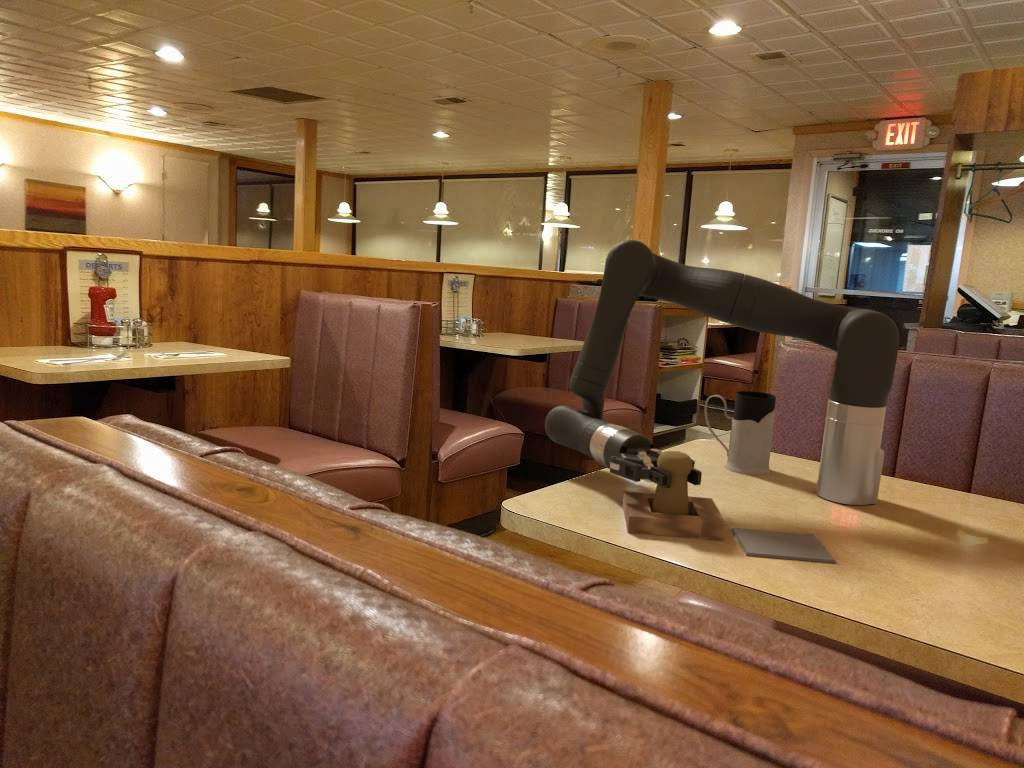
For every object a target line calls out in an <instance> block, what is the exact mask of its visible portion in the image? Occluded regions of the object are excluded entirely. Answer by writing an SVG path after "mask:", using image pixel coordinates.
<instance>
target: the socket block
mask: <svg viewBox="0 0 1024 768" xmlns="http://www.w3.org/2000/svg"><path fill="white" fill-rule="evenodd" d="M654 495H655V493H653V492H652V493H651V492H639V491H630V490H629V491H627V490H624V491H623V498H622V510H623V516H624V519H625V520H624V521H625V525H626V526H625V527H626V530H627V533H632V534H644V535H656V536H664V537H665V536H666V537H678V538H691V539H700V538H701V540H711V539H712V540H713V541H722V540H724V541H723V542H725V541H726V532H727V523H726V521H725V519H724V517H723V515H722V514H721V512H720V511H719V510H720V509H719V508H718V507H717V504H716V502H715V501H714V500H713V498H712V497H711V498H709V497H701V496H689V495H688V513H689V516H688V515H677V514H665V513H653V512H651V508H652V504H653V500H654Z"/></svg>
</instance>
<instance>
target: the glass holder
mask: <svg viewBox="0 0 1024 768" xmlns="http://www.w3.org/2000/svg"><path fill="white" fill-rule="evenodd" d="M714 397H715V398H719V399H721V401H722V402H723V405H724V417H725V418H727V420H728V419H729V420H731V428H730V434H729V445H728V447H727V446H726V444H724V442H723V441H722V440H721V439H720V438H719V437H718V435H717V434H716V433H715V431H714V430H713V429H712V427H711V424H710V422H709V419H708V412H707V411H708V410H707V409H708V403H709V400H710V399H712V398H714ZM734 399H735V400H734V410H733V417H731V416H729V415H728V404H727V401H726V399H725V397H723V396H721V395H719V394H714V395H713V394H712V395H711V396H708V397H707V399H706V400H705V403H704V418H705V419H704V420H705V423H706V426H707V428H708V431H709V432H710V434H711V435H712V436H713V437H714V438H715V439H716V441H717V442H718V443H719V444H720V445H721V446H722V447H723V449H724V450H725V451H726V456H727V460H726V461H725V464H724V468H725V469H726V470H729V471H731V472H733V473H736V474H737V473H738V474H742V475H747V476H749V475H750V476H766V475H770V474H771V468H770V458H771V453H772V452H771V449H772V442H773V441H772V440H773V435H774V428H775V427H774V425H775V419H776V418H775V416H776V403H777V402H776V400H777V396H776V395H774V394H772V393H767V392H760V391H754V390H753V391H751V390H740V391H736V392H735V398H734Z"/></svg>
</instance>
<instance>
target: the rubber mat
mask: <svg viewBox="0 0 1024 768" xmlns="http://www.w3.org/2000/svg"><path fill="white" fill-rule="evenodd" d="M731 531H732V533H733V534H734V536H735V538H736V540H737V541H738V544H739V545H740V546H742V547H741V548H742V550H743V552H744V554H745V555H746V556H748V557H749V556H751V557H763V558H771V559H772V558H774V559H785V560H797V561H809V562H819V563H821V562H822V563H832V564H836V562H837V560H836V558H835V557H834V556H833V555H832V554H831V553H830V552H829V551H828V549H827V548H826V547H825V545H824V544H823V543H822V542H820V540H819V539H818V538H817V537H816V535H814V533H803V532H793V531H781V530H770V529H769V530H768V529H757V528H746V527H745V528H744V527H733V526H731Z"/></svg>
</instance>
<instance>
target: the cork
mask: <svg viewBox="0 0 1024 768" xmlns="http://www.w3.org/2000/svg"><path fill="white" fill-rule="evenodd" d="M662 452H663V453H661V454H660V456H659V457H658V460H657V467H658V468H659V469H661V470H664V471H666V472H668V473H670V474H671V476H672V479H671V487H670V488H664V487H662V486H660V485H658V484H656V488H655V492H654V494H655V495H654V500H653V504H652V508H651V512H653V513H665V514H677V515H688V516H689V513H688V496H689V491H688V490H689V489H688V485H689V484H688V483H689V482H687V476H688V474H689V473H690V472H691V469H692V460H693V459H692V458H691V456H690V455H689V454H687V453H684V452H681V451H679V452H677V451H676V450H669V451H668V450H667V451H662ZM691 459H692V460H691Z"/></svg>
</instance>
